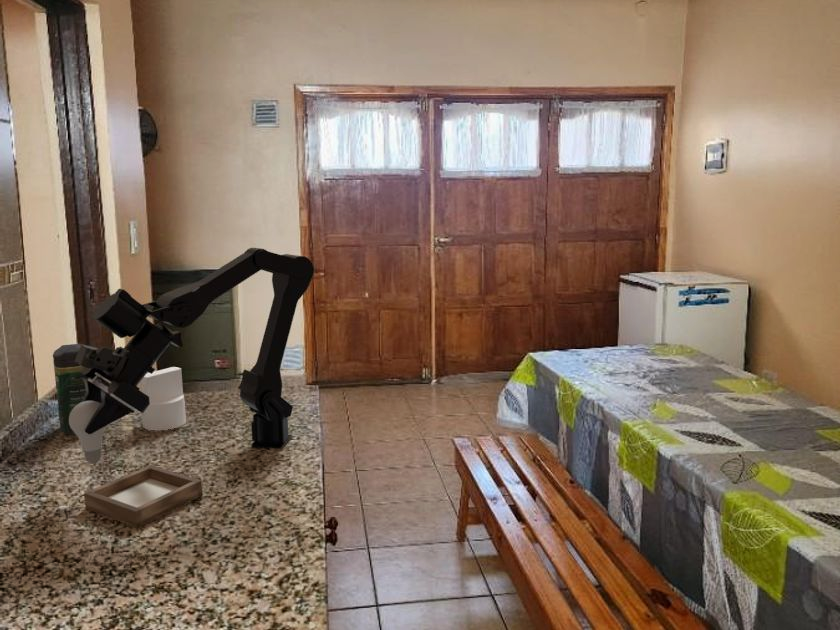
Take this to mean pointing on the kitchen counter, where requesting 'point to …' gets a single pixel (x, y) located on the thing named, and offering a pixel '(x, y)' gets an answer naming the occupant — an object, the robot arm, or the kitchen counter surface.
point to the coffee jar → (68, 383)
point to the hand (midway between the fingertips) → (81, 428)
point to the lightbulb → (79, 423)
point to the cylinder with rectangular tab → (163, 399)
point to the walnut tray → (143, 495)
